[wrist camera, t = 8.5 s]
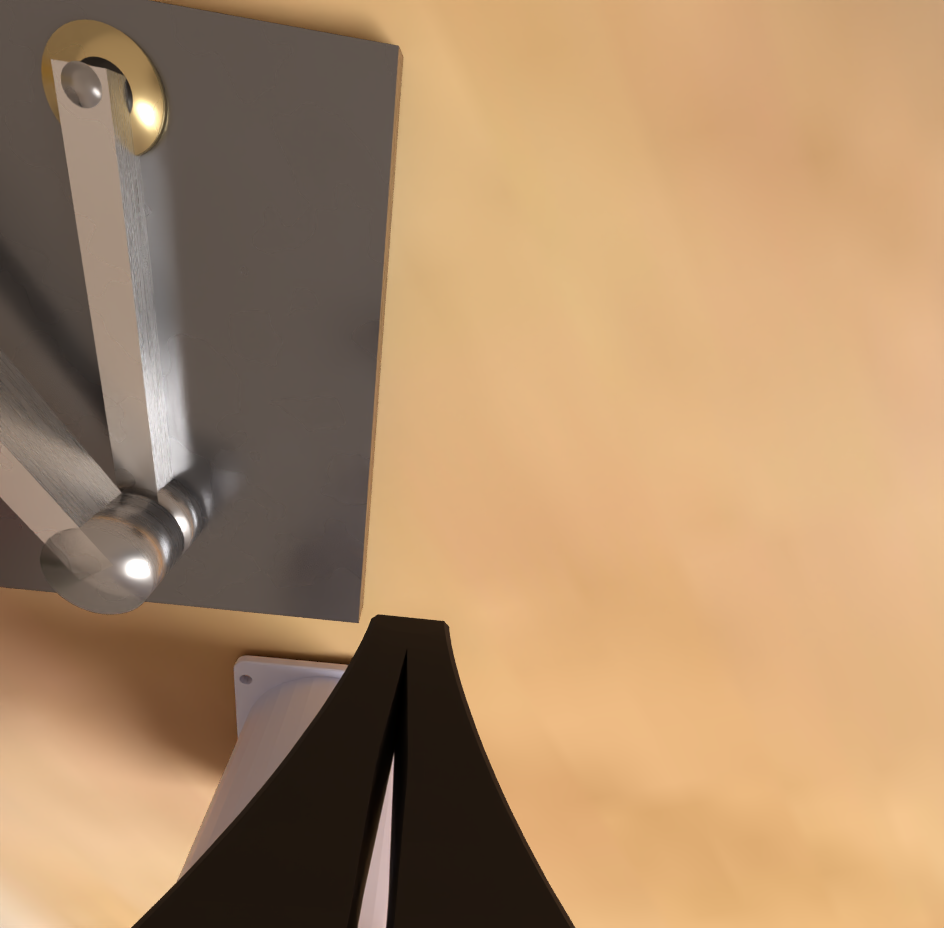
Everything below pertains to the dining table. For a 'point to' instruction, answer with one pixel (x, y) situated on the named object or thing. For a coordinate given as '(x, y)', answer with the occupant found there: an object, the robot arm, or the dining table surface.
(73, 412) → the plate
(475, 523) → the dining table surface
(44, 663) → the dining table surface
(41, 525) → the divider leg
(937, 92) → the dining table surface
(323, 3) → the dining table surface
